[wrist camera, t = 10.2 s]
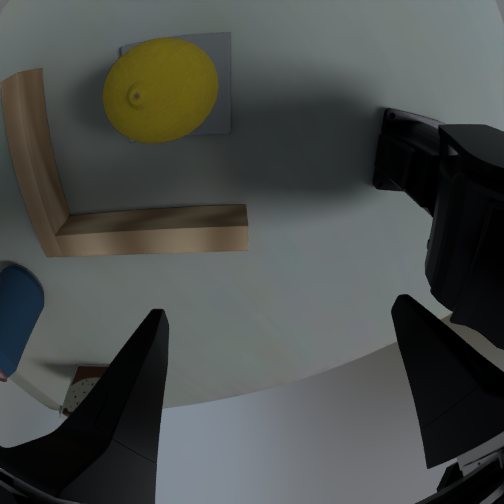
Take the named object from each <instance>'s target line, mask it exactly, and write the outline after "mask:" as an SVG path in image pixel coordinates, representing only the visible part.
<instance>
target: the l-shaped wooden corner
mask: <svg viewBox="0 0 504 504" xmlns="http://www.w3.org/2000/svg"><path fill="white" fill-rule="evenodd" d="M0 85H1V97H2V106H3V114H4V121H5V127H6V133H7V138H8V143H9V148H10V153H11V157H12V161H13V165H14V169H15V173H16V176H17V180H18V183H19V187H20V190H21V193H22V196H23V199H24V202H25V205H26V208H27V211H28V214H29V217H30V219H31V222H32V225H33V227H34V230H35V232H36V235H37V237H38V240H39V242H40V244H41V247H42V249H43V251H44V253H45V256H46V257H67V256H97V255H128V254H159V253H190V252H222V251H248V219H247V209H246V205H220V206H196V207H176V208H159V209H145V210H131V211H119V212H107V213H97V214H87V215H77V216H70V213H69V210H68V207H67V204H66V201H65V197H64V194H63V190H62V187H61V183H60V179H59V175H58V171H57V167H56V163H55V158H54V154H53V149H52V144H51V139H50V133H49V128H48V121H47V115H46V107H45V99H44V89H43V76H42V68H39V69H33V70H28V71H22V72H18V73H16V74H14V75H12V76H10V77H9V78H7V79H5V80H4V81H2V82H0Z"/></svg>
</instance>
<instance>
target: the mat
mask: <svg viewBox="0 0 504 504" xmlns="http://www.w3.org/2000/svg"><path fill="white" fill-rule="evenodd" d="M168 38H177V39H182V40H185V41H187V42H190V43H193V44H195V45H196V46H198V47H199V48H200V49H202V50H203V51H204V52H206V54H207V55H208V56H209V58H210V59H211V60H212V62H213V63H214V66H215V69H216V72H217V74H218V85H219V88H218V93H217V99H216V102H215V104H214V106H213V108H212V110H211V112H210V114H209V115H208V116H207V118H206V119H205V120H204V121H203V122H202V124H201V125H200V126H198V127H197V128H196V129H194V130H193V131H192V132H191V133H189V134H187V135H185V136H194V135H211V134H231V32H221V33H204V34H192V35H183V36H175V37H168ZM144 42H146V41H144ZM141 43H143V42H139V43H134V44H130V45H125V46H121V50H122V55H123V54H124V53H126V52H127V51H128V50H130V49H131V48H133V47H134V46H136V45H139V44H141ZM129 142H136V141H135V140H132V139H130V138H129Z"/></svg>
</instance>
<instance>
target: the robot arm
mask: <svg viewBox="0 0 504 504" xmlns="http://www.w3.org/2000/svg"><path fill="white" fill-rule="evenodd" d="M390 113H392V117H391V118H390V116H389V115H390ZM379 181H381V182H380V184H378V185H377V183H378V182H379ZM373 186H374V187H375V188H376V189H378V190H391V191H403V192H405V193H406V194H407V195H409V196H410V197H411V198H412V199H413V200H414V201H415V202H416V203H417V204H418V205H419V206H420V207H422V208H423V209H425V210H426V211H427V212H428V213H429V214H430V215H431V216H432V217H433V221H432V228H431V233H430V239H429V240H428V243H427V249H428V251H427V256H426V260H425V275H426V277H427V280H428V282H429V285H430V287H431V289H430V292H431V294H432V295H433V296H434V297H435V298H436V300H437V301H438V302H439V303H441V304H442V305H443V306H445V307H446V308H447V309H449V310H450V311H452V312H453V313H452V315H451V317H450V322H451V323H454V324H459V325H465V326H467V327H469V328H472V329H474V330H476V331H478V332H479V333H480V334H482V335H483V336H484V337H486V338H487V339H488V340H489V341H490V342H491V343H492V344H493V345H495V346H496V347H497V348H500V349H503V350H504V132H503V131H501V130H498V129H496V128H493V127H491V126H488V125H480V124H445V123H443V122H440V121H436V120H433V119H430V118H426V117H423V116H419V115H415V114H412V113H408V112H404V111H399V110H395V109H391V108H388V109H386V110H385V112H384V117H383V125H382V131H381V134H380V136H379V142H378V148H377V153H376V159H375V172H374V177H373ZM391 315H392V319H393V323H394V327H395V332H396V337H397V341H398V345H399V349H400V352H401V355H402V359H403V362H404V365H405V369H406V372H407V376H408V380H409V383H410V387H411V391H412V395H413V398H414V403H415V407H416V411H417V416H418V420H419V425H420V431H421V436H422V441H423V446H424V452H425V459H426V465H427V469H430V468H432V467H435V466H437V465H440V464H442V463H444V462H447V461H449V460H451V459H453V458H456V457H457V462H456V463H454V464H452V465H450V466H449V467H447V468H446V470H445V473H444V475H443V477H442V479H441V481H440V483H439V486H438V487H437V493H435V494H433V495H431V496H429V497H427V498H425V499H423V500H422V501H419V502H417V503H415V504H504V372H503V371H502V370H500V369H499V368H498V367H496V366H495V365H494V364H492V363H491V362H490V361H489V360H487V359H486V358H485V357H483V356H482V355H481V354H480V353H478V352H477V351H476V350H475V349H474V348H472V347H471V346H470V345H469V344H468V343H466V341H464V340H463V339H462V338H461V337H460V336H459V335H457V334H456V333H455V332H454V331H453V330H451V329H450V328H449V327H448V326H447V325H445V324H444V323H443V322H442V321H441V320H440V319H438V318H437V317H436V316H435V315H433V314H432V313H431V312H430V311H428V310H427V309H426V308H425V307H423V306H422V305H421V304H420V303H418V302H417V301H416V300H415V299H413V298H412V297H411V296H409V295H408V294H402V295H399V296H398V297H397V299H396V301H395V303H394V305H393V307H392V309H391ZM168 343H169V323H168V320H167V317H166V314H165V311H164V310H163V309H152V310H151V311H150V313H149V314H148V315H147V317H146V318H145V319H144V320H143V322H142V323H141V324H140V325H139V327H138V328H137V329H136V331H135V332H134V333H133V335H132V336H131V337H130V338H129V340H128V341H127V342H126V344H125V345H124V346H123V348H122V349H121V350H120V352H119V353H118V354H117V356H116V357H115V358H114V360H113V361H112V362H111V364H110V365H109V366H108V368H107V369H106V370H105V372H104V373H103V374H102V376H101V378H100V379H99V380H98V381H97V383H96V384H95V385H94V387H93V388H92V389H91V391H90V392H89V393H88V395H87V396H86V397H85V398H84V399H83V400H82V402H81V403H80V404H79V405H78V406H77V407H76V409H75V410H74V411H73V412H72V413H71V414H70V415H69V416H68V418H67V419H66V420H65V421H64V422H63V423H62V424H61V426H59V427H58V429H56V430H55V431H54V432H52V433H50V434H48V435H46V436H43V437H40V438H38V439H35V440H32V441H29V442H26V443H24V444H21V445H18V446H15V447H11V448H4V447H2V446H0V468H2V469H3V470H2V469H0V504H155V489H156V488H155V487H156V470H157V455H158V442H159V433H160V423H161V414H162V405H163V397H164V390H165V382H166V375H167V367H168ZM4 470H5V471H4Z"/></svg>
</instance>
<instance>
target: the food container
mask: <svg viewBox="0 0 504 504" xmlns="http://www.w3.org/2000/svg"><path fill="white" fill-rule="evenodd" d="M108 366H109V365H87V364H77V367H76V369H75V372H74V375H73V377H72V380H71V383H70V386H69V388H68V391H67V394H66V397H65V400H64V403H63V406H61V405H60V410H59V414H60V418H62V419H63V420H66V419H67V418H68V416H69V415H70V414H71V413H72V412H73V411H74V410H75V409H76V407H77V406H78V405H79V404H80V403H81V402H82V400H83V399H84V398H85V397H86V396H87V395H88V393H89V392H90V391H91V389H92V388H93V387H94V385H95V384H96V383H97V381H98V380H99V379H100V378H101V376H102V374H103V373H104V372H105V370H106V369H107V368H108Z"/></svg>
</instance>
